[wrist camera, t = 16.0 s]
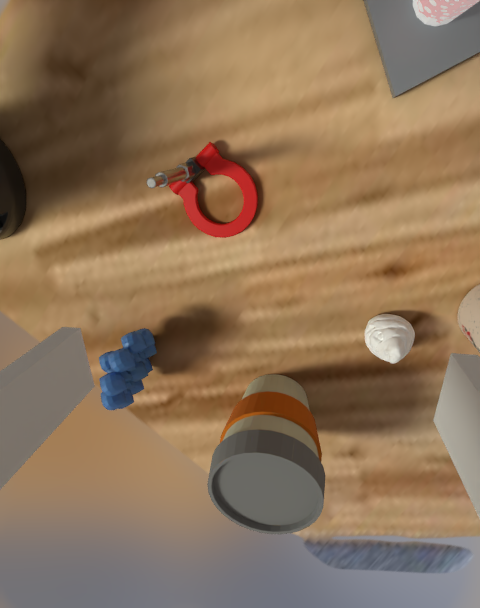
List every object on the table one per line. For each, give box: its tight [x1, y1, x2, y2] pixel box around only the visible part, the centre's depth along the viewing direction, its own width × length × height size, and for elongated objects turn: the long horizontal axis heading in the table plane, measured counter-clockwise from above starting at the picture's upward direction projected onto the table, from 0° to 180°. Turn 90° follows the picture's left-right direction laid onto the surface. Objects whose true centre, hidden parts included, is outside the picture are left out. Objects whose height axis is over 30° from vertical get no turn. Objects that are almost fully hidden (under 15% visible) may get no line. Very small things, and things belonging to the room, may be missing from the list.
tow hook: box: [147, 142, 258, 237], centre depth 33 cm, size 8×13×9 cm
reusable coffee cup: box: [208, 374, 325, 534], centre depth 42 cm, size 13×13×15 cm
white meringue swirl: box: [365, 314, 415, 363], centre depth 39 cm, size 6×6×5 cm
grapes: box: [99, 328, 157, 410], centre depth 43 cm, size 12×7×12 cm, turn 164°
